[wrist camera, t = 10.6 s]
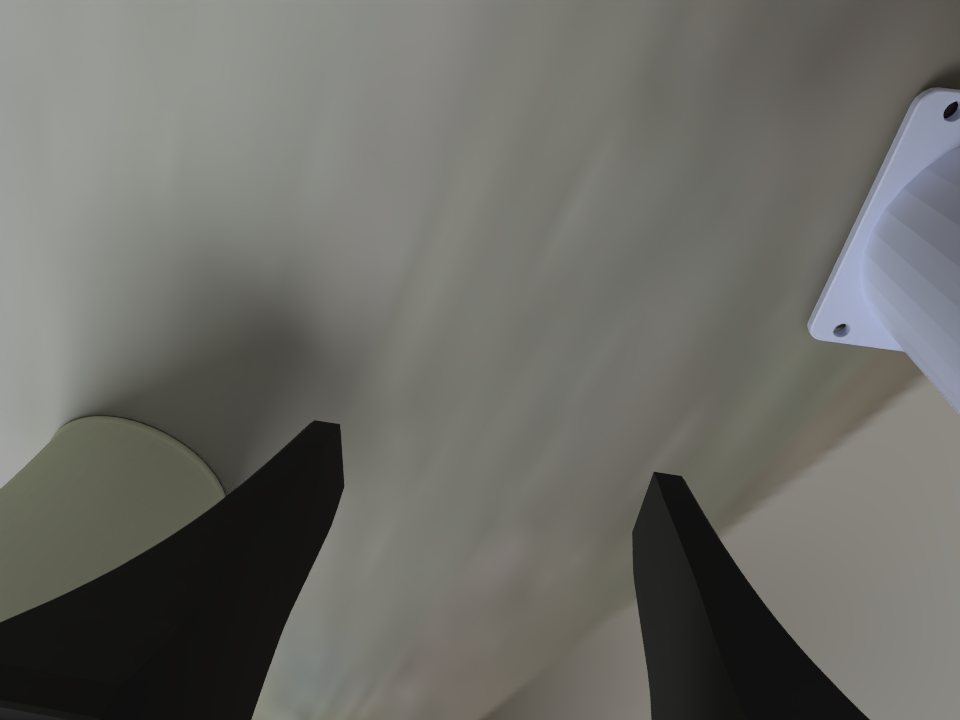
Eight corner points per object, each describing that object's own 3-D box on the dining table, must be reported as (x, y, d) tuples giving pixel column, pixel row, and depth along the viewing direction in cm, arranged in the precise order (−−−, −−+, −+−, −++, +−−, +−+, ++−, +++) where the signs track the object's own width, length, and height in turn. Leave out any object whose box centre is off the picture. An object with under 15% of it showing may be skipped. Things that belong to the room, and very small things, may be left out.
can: (99, 382, 27) (-179, 629, 17) (262, 499, 30) (108, 765, 20) (25, 469, 31) (-233, 707, 21) (174, 563, 34) (12, 808, 24)
